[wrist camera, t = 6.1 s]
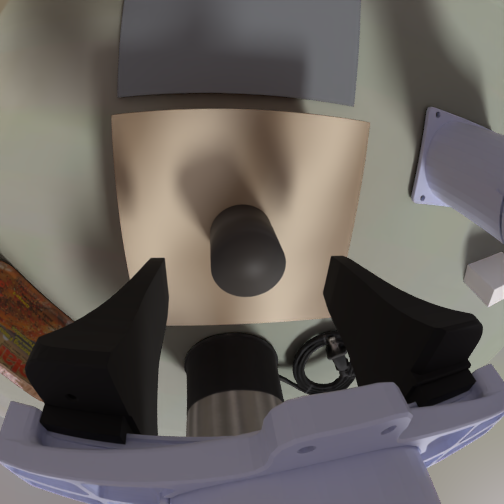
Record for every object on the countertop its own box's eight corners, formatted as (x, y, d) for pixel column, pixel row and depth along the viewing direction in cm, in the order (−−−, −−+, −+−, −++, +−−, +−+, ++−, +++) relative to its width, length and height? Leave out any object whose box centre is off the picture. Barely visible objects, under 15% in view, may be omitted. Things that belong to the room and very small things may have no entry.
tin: (105, 345, 25) (87, 418, 18) (89, 357, 26) (71, 426, 19) (-11, 239, 18) (-64, 296, 11) (-20, 259, 19) (-67, 315, 12)
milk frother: (163, 361, 27) (157, 506, 14) (299, 268, 24) (374, 439, 11) (253, 411, 34) (272, 519, 21) (365, 347, 30) (421, 461, 17)
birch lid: (363, 121, 14) (405, 132, 11) (328, 310, 20) (348, 351, 17) (116, 113, 12) (85, 122, 9) (141, 317, 18) (132, 363, 15)
